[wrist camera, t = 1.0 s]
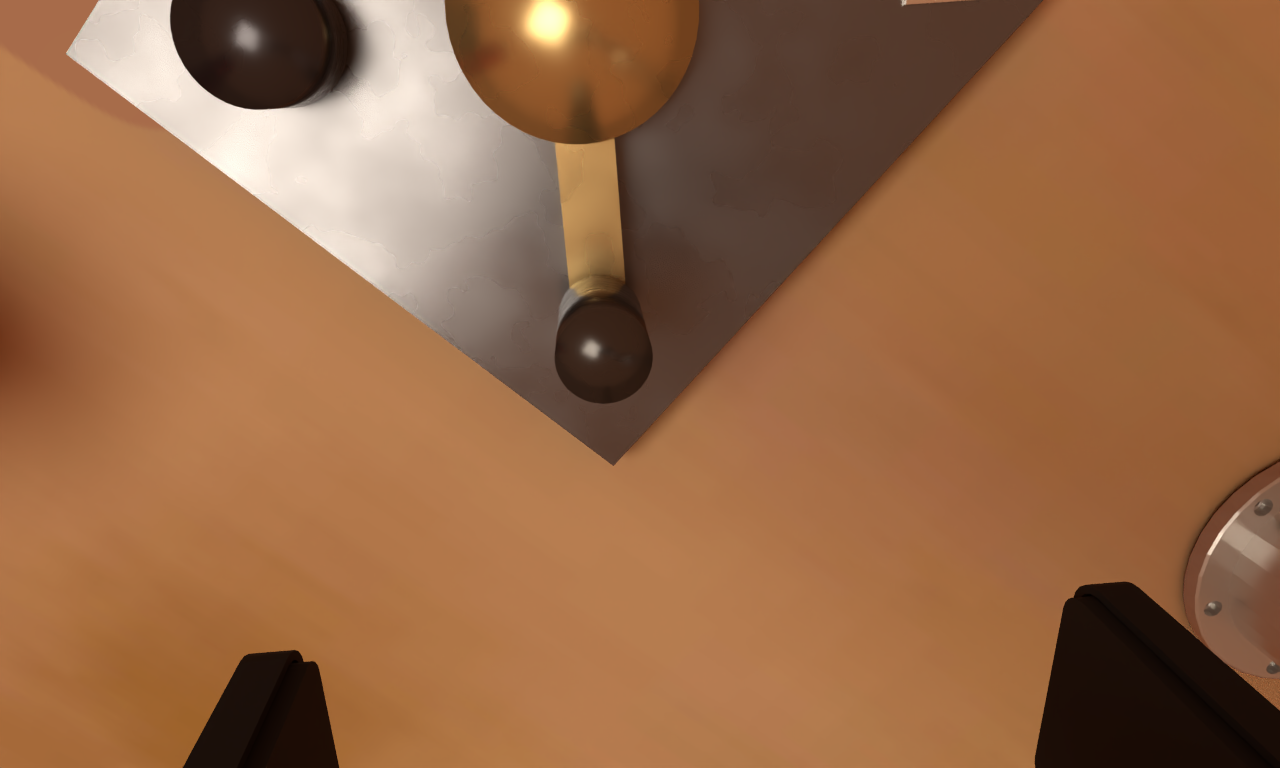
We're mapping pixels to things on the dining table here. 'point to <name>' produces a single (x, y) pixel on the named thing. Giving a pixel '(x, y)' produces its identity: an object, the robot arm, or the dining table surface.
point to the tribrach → (549, 159)
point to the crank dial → (582, 146)
